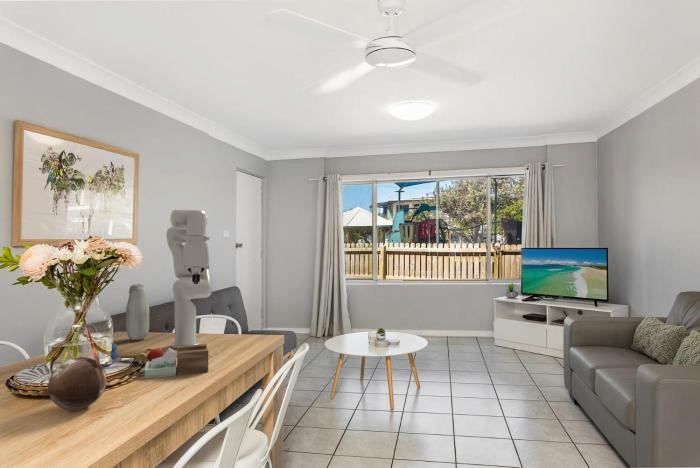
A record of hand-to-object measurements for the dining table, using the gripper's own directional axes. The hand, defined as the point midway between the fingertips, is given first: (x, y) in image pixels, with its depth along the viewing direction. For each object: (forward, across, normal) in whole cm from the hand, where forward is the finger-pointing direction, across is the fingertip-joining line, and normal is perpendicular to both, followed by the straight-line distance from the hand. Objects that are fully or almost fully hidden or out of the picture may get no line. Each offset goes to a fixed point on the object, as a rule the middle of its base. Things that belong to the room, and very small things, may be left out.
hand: (195, 283), depth 185 cm
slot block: (+32, +2, +13) cm, 34 cm away
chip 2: (+27, +8, +14) cm, 31 cm away
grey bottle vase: (+34, +26, -49) cm, 65 cm away
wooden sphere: (+31, +35, +43) cm, 63 cm away
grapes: (+32, +35, -5) cm, 48 cm away
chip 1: (+28, +12, +14) cm, 33 cm away
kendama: (+33, +21, -4) cm, 39 cm away
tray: (+32, +13, +14) cm, 37 cm away
